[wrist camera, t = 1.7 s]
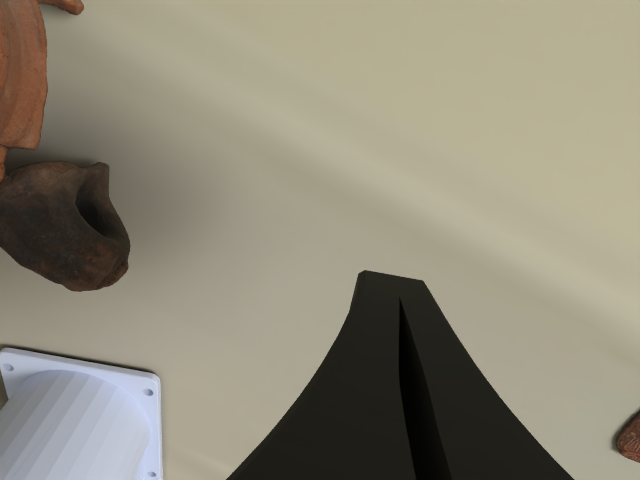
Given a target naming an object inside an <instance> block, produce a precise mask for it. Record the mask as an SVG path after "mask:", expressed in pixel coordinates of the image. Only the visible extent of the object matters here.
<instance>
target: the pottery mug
mask: <svg viewBox="0 0 640 480" xmlns="http://www.w3.org/2000/svg"><path fill="white" fill-rule="evenodd" d="M39 3H43V4H52V5H54V6H57V7H59V8H61V9H63V10H66V11H67V12H69V13H70V14H73V15H79V14H80V13H81V12H82V11H83V9H84V5H83V3H82V2H81V0H0V247H1V248H2V249H4V250H5V251H6V252H7V253H8V254H9V255H10V256H11V257H12V258H13V259H14V260H15V261H16V262H17V263H18V264H20V265H21V266H23V267H25V268H28V269H30V270H32V271H34V272H36V273H38V274H40V275H41V276H43V277H44V278H46V279H48V280H50V281H52V282H54V283H58V284H61V285H63V286H64V287H66V288H67V289H69V290H71V291H78V292H81V291H91V290H98V289H101V288H103V287H108V286H111V285H113V284H114V283H115V282H117V281H118V280H119V279H120V278H121V277H122V276H123V275H124V274H125V273H126V271H127V270H128V256H129V252H130V240H129V237H128V234H127V232H126V229H125V227H124V225H123V223H122V221H121V219H120V217H119V215H118V214H117V212H116V211H115V209H114V207H113V205H112V203H111V201H110V198H109V166H108V165H107V164H105V163H101V162H98V163H96V164H94V165H92V166H90V167H83V168H78V166H76V165H73V164H71V163H68V162H63V161H56V162H39V163H35V164H31V165H27V166H25V167H22V168H18V169H16V170H15V171H14V172H12V173H11V174H10V175H9V176H6V173H5V166H4V162H5V159H6V157H7V153H8V150H9V149H12V148H20V149H28V150H36V149H37V147H38V144H39V142H40V137H41V128H42V122H43V116H44V106H45V103H46V97H47V92H48V86H47V76H46V58H47V39H46V31H45V26H44V21H43V18H42V14H41V11H40V8H39Z"/></svg>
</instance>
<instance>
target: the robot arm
mask: <svg viewBox="0 0 640 480" xmlns="http://www.w3.org/2000/svg"><path fill="white" fill-rule="evenodd" d="M0 370H1V374H2V378H3V381H4V385H5V389H6V392H7V396H8V401H7V403H6V404H5V405H4V407H3V408H2V409H1V410H0V480H163V467H162V427H161V387H160V379H159V378H158V376H156V375H155V374H152V373H148V372H143V371H137V370H132V369H126V368H120V367H115V366H109V365H104V364H98V363H92V362H87V361H81V360H76V359H70V358H64V357H59V356H53V355H48V354H42V353H36V352H31V351H25V350H20V349H14V348H3V349H2V350H1V351H0ZM226 480H574V479H573V478H572V477H571V476H570V475H569V474H568V473H567V472H566V471H565V470H564V469H563V468H562V467H561V466H560V465H559V464H558V463H557V462H556V461H555V460H554V459H553V458H552V456H551V455H550V454H549V453H548V452H547V451H546V450H545V449H544V448H543V447H542V446H541V445H540V444H539V443H538V441H537V440H536V439H535V438H534V437H533V436H532V435H531V433H530V432H529V431H528V430H527V429H526V428H525V427H524V425H523V424H522V423H521V422H520V421H519V420H518V419H517V417H516V416H515V415H514V414H513V413H512V412H511V410H510V409H509V408H508V407H507V405H506V404H505V403H504V402H503V400H502V399H501V398H500V397H499V395H498V394H497V393H496V391H495V390H494V389H493V387H492V386H491V385H490V383H489V382H488V381H487V379H486V378H485V377H484V375H483V374H482V373H481V371H480V370H479V368H478V367H477V366H476V364H475V363H474V361H473V360H472V358H471V357H470V355H469V354H468V352H467V351H466V349H465V348H464V346H463V345H462V343H461V342H460V340H459V339H458V337H457V336H456V334H455V332H454V331H453V329H452V328H451V326H450V324H449V323H448V321H447V319H446V318H445V316H444V315H443V313H442V311H441V309H440V308H439V306H438V304H437V303H436V301H435V299H434V298H433V296H432V294H431V293H430V291H429V289H428V288H427V286H426V284H425V283H424V281H422V280H417V279H411V278H406V277H400V276H395V275H389V274H384V273H378V272H373V271H367V270H364V271H363V272H361V273H359V274H358V278H357V282H356V286H355V290H354V294H353V298H352V302H351V306H350V310H349V313H348V315H347V318H346V320H345V322H344V324H343V326H342V328H341V330H340V332H339V334H338V336H337V338H336V340H335V341H334V343H333V345H332V347H331V348H330V350H329V352H328V354H327V355H326V357H325V359H324V360H323V362H322V364H321V365H320V367H319V368H318V370H317V371H316V373H315V374H314V376H313V377H312V379H311V380H310V382H309V383H308V385H307V386H306V387H305V389H304V390H303V392H302V393H301V394H300V396H299V397H298V398H297V400H296V401H295V402H294V404H293V405H292V406H291V407H290V409H289V410H288V411H287V412H286V414H285V415H284V416H283V417H282V419H281V420H280V421H279V422H278V424H277V425H276V426H275V427H274V428H273V430H272V431H271V432H270V433H269V434H268V435H267V437H266V438H265V439H264V440H263V441H262V442H261V443H260V444H259V445H258V446H257V447H256V448H255V450H254V451H253V452H252V453H251V454H250V455H249V456H248V457H247V458H246V459H245V460H244V461H243V462H242V463H241V465H240V466H239V467H238V468H237V469H236V470H235V471H234V472H233V473H232V474H231V475H230V476H229V477H228V478H227V479H226Z"/></svg>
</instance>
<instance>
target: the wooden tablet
mask: <svg viewBox="0 0 640 480" xmlns="http://www.w3.org/2000/svg"><path fill="white" fill-rule="evenodd" d="M616 442H617V444H616V446H617V447H618V449H619V452H620V454H621V455H623V456H624V457H626V458H628V459H631V460H634V461H636V462H639V463H640V411H639V412H638V413H637V414H636V415H635V416H634V417H633V418H632V419H631V420H630V421H629V423H627V424H626V425H625V427H624V428H623V430H622V431H621V433H620V434H619V435H618V437H617V441H616Z"/></svg>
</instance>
